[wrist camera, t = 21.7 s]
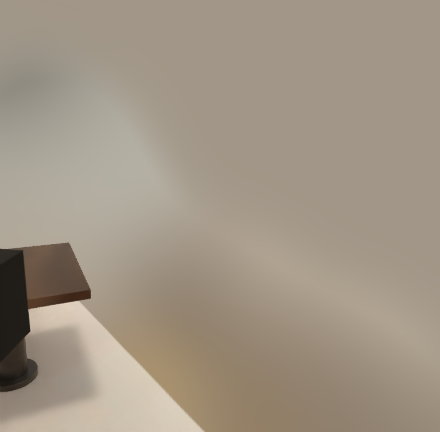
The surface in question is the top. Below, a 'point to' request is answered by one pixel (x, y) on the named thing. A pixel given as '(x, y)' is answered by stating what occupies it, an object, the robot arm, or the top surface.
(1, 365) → the side table
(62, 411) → the top surface
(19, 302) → the robot arm
